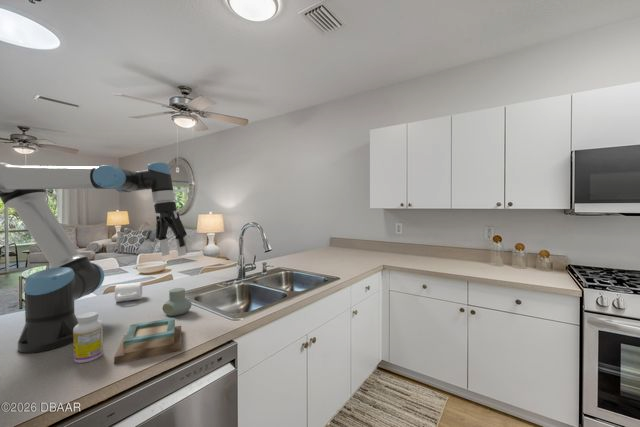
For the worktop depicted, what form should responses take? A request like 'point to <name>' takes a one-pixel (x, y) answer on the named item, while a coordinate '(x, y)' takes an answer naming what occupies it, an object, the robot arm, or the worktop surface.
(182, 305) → the green pipe tee
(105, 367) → the worktop surface
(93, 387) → the worktop surface
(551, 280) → the worktop surface
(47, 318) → the robot arm
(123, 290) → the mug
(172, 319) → the display stand
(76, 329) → the supplement bottle
